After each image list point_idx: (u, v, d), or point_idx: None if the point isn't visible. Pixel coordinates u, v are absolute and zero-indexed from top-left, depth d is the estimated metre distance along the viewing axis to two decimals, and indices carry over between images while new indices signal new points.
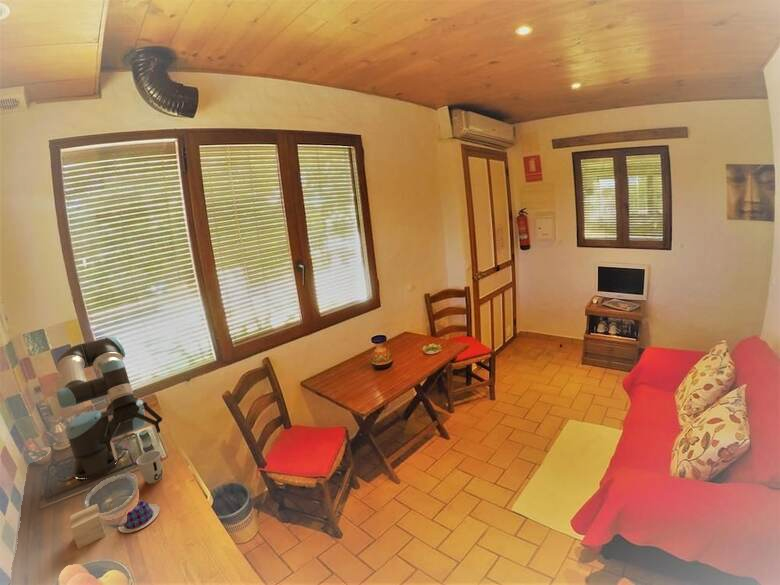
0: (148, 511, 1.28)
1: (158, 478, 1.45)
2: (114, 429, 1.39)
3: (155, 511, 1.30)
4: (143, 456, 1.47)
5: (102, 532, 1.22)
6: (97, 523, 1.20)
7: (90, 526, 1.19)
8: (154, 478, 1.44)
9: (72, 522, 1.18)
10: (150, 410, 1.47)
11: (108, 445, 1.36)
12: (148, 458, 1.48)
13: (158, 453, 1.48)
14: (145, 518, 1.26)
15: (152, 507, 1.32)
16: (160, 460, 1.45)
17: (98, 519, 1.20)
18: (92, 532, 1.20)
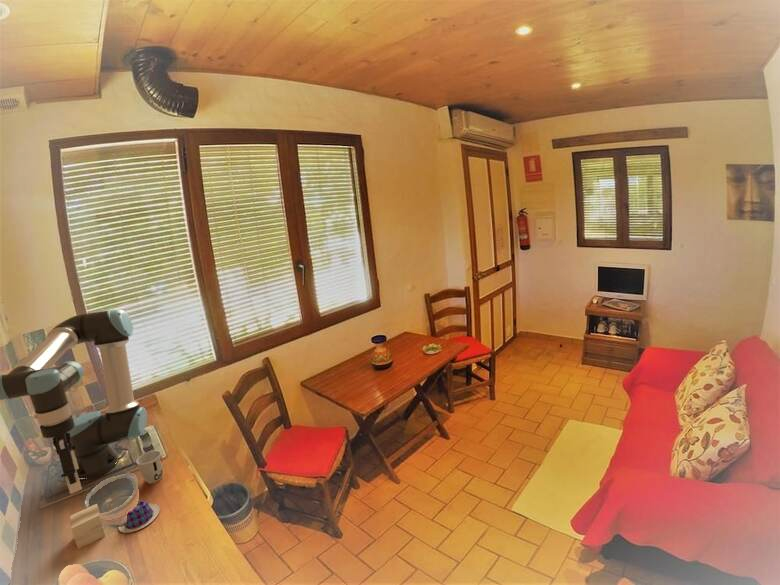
0: (148, 511, 1.28)
1: (158, 478, 1.45)
2: None
3: (155, 511, 1.30)
4: (143, 456, 1.47)
5: (102, 532, 1.22)
6: (97, 523, 1.20)
7: (90, 526, 1.19)
8: (154, 478, 1.44)
9: (72, 522, 1.18)
10: (59, 457, 1.09)
11: None
12: (148, 458, 1.48)
13: (158, 453, 1.48)
14: (145, 518, 1.26)
15: (152, 507, 1.32)
16: (160, 460, 1.45)
17: (98, 519, 1.20)
18: (92, 532, 1.20)
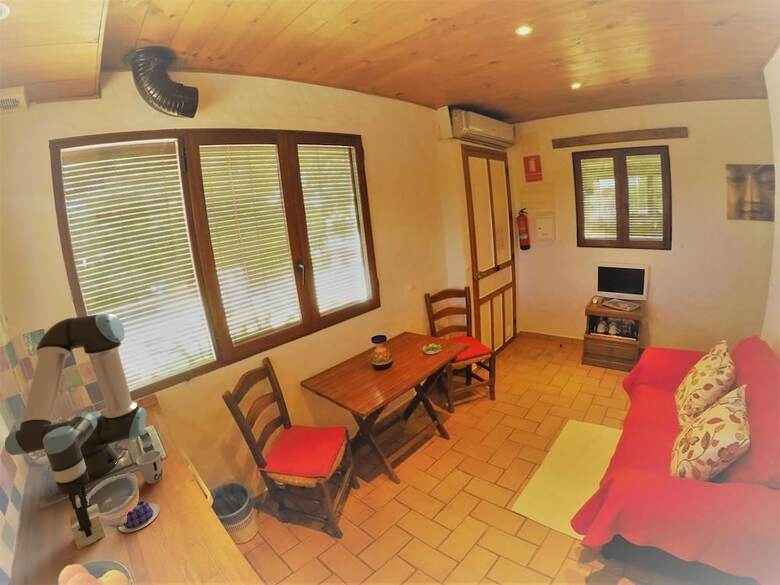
0: (148, 511, 1.28)
1: (158, 478, 1.45)
2: None
3: (155, 511, 1.31)
4: (143, 456, 1.47)
5: (102, 532, 1.21)
6: (97, 523, 1.20)
7: None
8: (154, 478, 1.44)
9: (72, 522, 1.18)
10: (76, 514, 1.14)
11: None
12: (148, 458, 1.48)
13: (158, 453, 1.48)
14: (145, 518, 1.26)
15: (152, 507, 1.32)
16: (160, 460, 1.45)
17: (98, 519, 1.20)
18: None
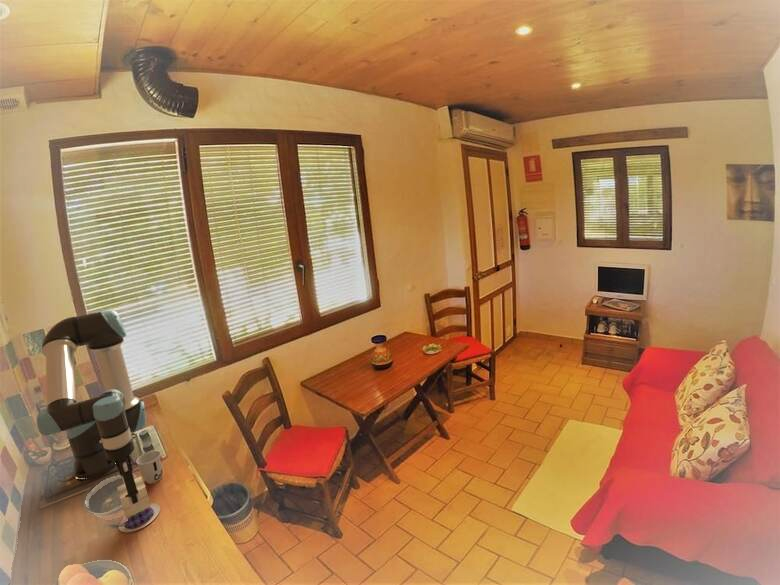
0: (149, 510, 1.28)
1: (158, 478, 1.45)
2: None
3: (155, 510, 1.31)
4: (143, 456, 1.47)
5: (148, 503, 1.26)
6: (143, 494, 1.25)
7: None
8: (154, 478, 1.44)
9: (120, 493, 1.22)
10: (123, 479, 1.17)
11: None
12: (148, 458, 1.48)
13: (158, 453, 1.48)
14: (146, 517, 1.27)
15: (151, 506, 1.33)
16: (160, 460, 1.45)
17: (144, 490, 1.25)
18: None
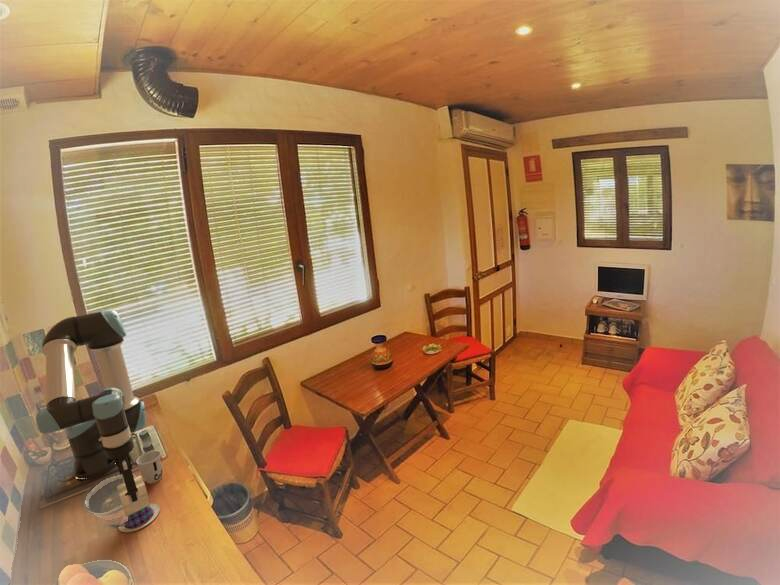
0: (149, 510, 1.28)
1: (158, 478, 1.45)
2: None
3: (155, 510, 1.31)
4: (143, 456, 1.47)
5: (147, 501, 1.26)
6: (143, 492, 1.25)
7: None
8: (154, 478, 1.44)
9: (120, 491, 1.23)
10: (123, 477, 1.17)
11: None
12: (148, 458, 1.48)
13: (158, 453, 1.48)
14: (146, 517, 1.27)
15: (151, 506, 1.33)
16: (160, 460, 1.45)
17: (144, 488, 1.25)
18: None
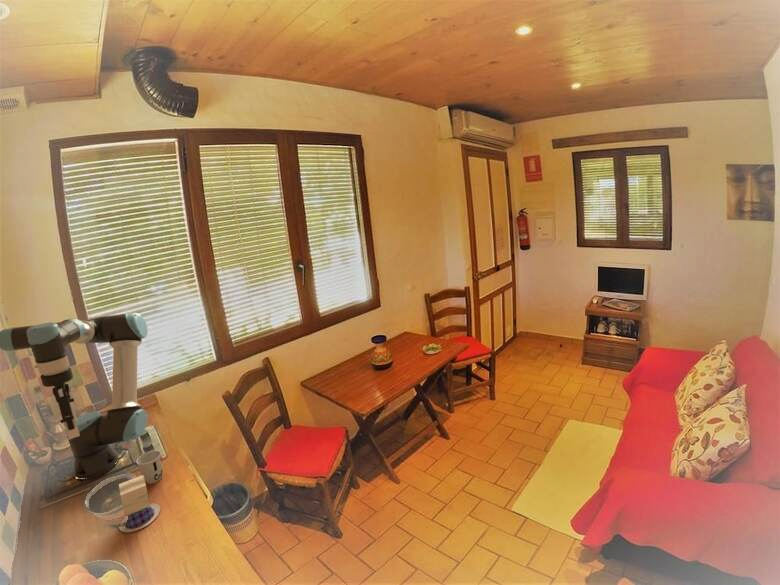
0: (149, 509, 1.28)
1: (158, 478, 1.45)
2: None
3: (155, 509, 1.31)
4: (143, 456, 1.46)
5: (147, 502, 1.26)
6: (143, 493, 1.25)
7: (137, 495, 1.24)
8: (154, 478, 1.44)
9: (121, 490, 1.23)
10: None
11: None
12: (148, 458, 1.48)
13: (158, 453, 1.48)
14: (147, 516, 1.27)
15: (151, 506, 1.33)
16: (160, 460, 1.45)
17: (145, 489, 1.25)
18: (139, 501, 1.24)
